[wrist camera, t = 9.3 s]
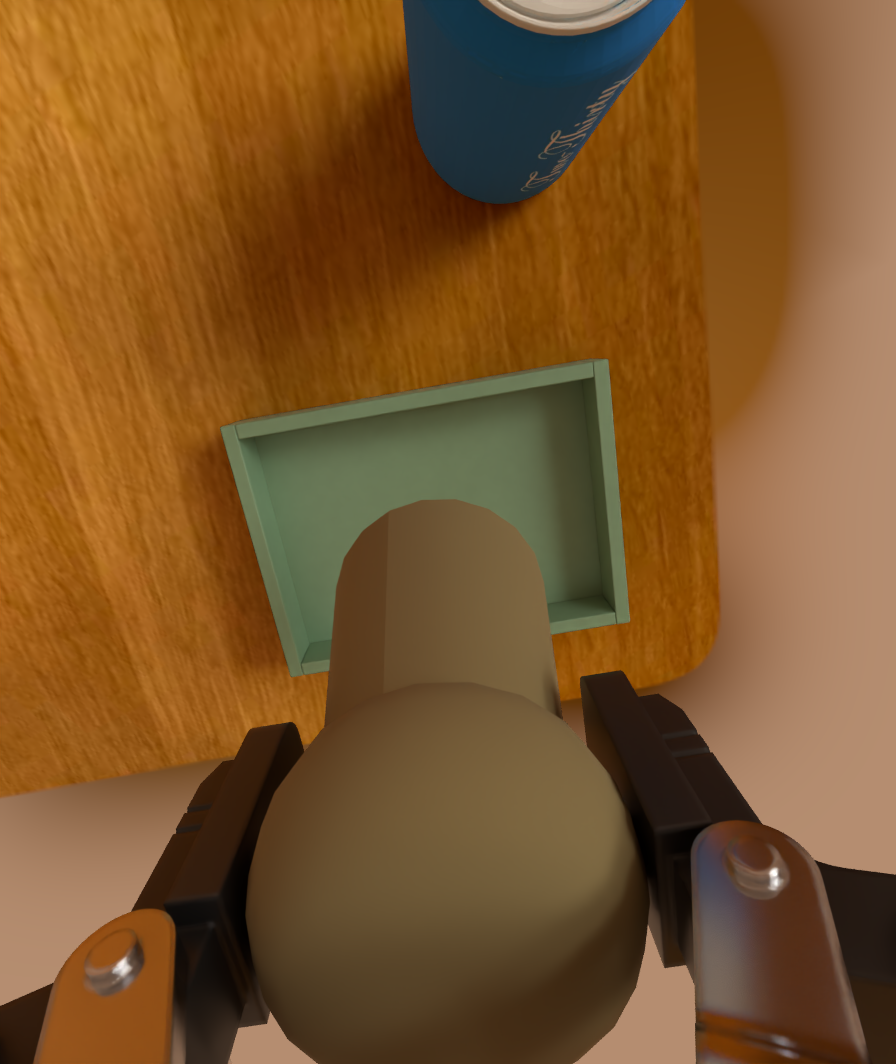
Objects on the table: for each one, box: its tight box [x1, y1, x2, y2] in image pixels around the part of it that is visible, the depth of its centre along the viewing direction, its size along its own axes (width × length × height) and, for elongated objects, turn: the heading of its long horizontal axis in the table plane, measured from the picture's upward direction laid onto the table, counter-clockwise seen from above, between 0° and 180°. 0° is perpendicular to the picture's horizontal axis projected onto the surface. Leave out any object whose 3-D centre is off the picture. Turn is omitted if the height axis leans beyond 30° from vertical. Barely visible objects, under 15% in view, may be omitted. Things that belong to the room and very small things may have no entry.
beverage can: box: [403, 0, 686, 204], centre depth 16 cm, size 6×6×12 cm
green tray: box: [220, 359, 630, 677], centre depth 25 cm, size 15×11×2 cm
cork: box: [245, 499, 650, 1064], centre depth 11 cm, size 6×6×11 cm
